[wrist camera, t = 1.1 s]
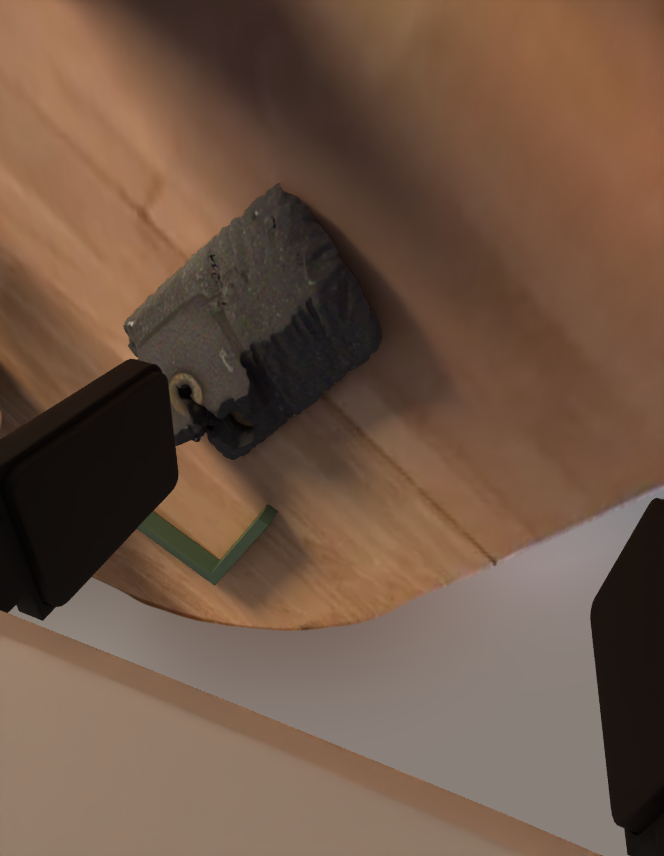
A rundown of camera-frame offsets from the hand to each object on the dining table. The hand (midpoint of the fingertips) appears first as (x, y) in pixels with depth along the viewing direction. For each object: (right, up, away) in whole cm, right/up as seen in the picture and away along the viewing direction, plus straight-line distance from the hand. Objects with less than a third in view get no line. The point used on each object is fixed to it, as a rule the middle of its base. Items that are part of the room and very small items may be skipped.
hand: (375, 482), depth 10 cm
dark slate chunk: (-7, +8, +31) cm, 32 cm away
